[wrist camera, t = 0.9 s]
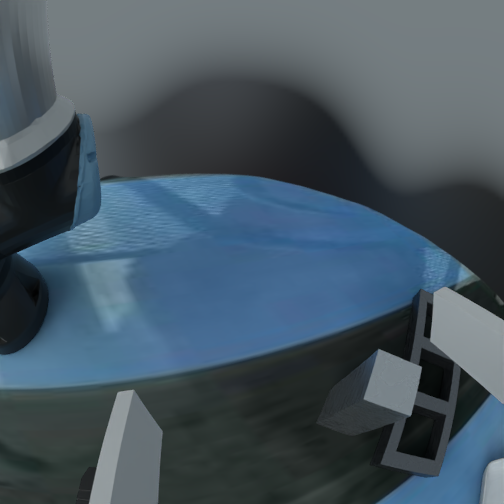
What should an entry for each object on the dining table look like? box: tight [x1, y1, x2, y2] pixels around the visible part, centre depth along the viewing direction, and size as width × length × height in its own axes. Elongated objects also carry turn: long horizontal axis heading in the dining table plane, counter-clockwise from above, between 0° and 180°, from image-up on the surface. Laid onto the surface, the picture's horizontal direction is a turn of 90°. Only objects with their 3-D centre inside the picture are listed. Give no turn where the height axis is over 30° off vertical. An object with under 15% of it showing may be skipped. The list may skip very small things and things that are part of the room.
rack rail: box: [370, 289, 461, 477], centre depth 29 cm, size 9×26×2 cm, turn 153°
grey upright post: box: [316, 349, 422, 436], centre depth 23 cm, size 5×5×12 cm
